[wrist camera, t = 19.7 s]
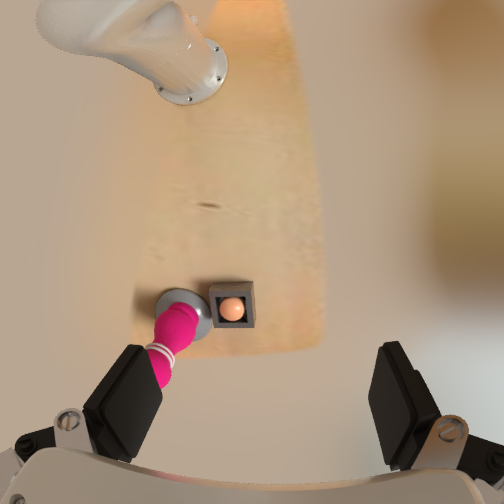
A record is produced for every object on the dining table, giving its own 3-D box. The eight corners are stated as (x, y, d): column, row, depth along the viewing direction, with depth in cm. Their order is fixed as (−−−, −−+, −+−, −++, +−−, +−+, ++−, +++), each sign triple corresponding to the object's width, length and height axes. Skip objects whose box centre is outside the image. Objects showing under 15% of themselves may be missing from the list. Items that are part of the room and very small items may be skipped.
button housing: (213, 282, 49) (208, 291, 46) (253, 281, 49) (251, 290, 45) (217, 317, 52) (213, 327, 48) (255, 317, 51) (254, 327, 47)
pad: (152, 288, 51) (150, 290, 50) (208, 288, 50) (206, 290, 49) (164, 337, 54) (162, 340, 53) (216, 339, 53) (215, 342, 52)
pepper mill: (196, 338, 52) (161, 414, 33) (161, 323, 52) (114, 393, 33) (206, 308, 50) (169, 384, 31) (169, 293, 50) (117, 360, 31)
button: (221, 293, 49) (218, 299, 46) (244, 293, 48) (242, 299, 46) (223, 313, 50) (221, 320, 48) (246, 313, 49) (244, 320, 47)
